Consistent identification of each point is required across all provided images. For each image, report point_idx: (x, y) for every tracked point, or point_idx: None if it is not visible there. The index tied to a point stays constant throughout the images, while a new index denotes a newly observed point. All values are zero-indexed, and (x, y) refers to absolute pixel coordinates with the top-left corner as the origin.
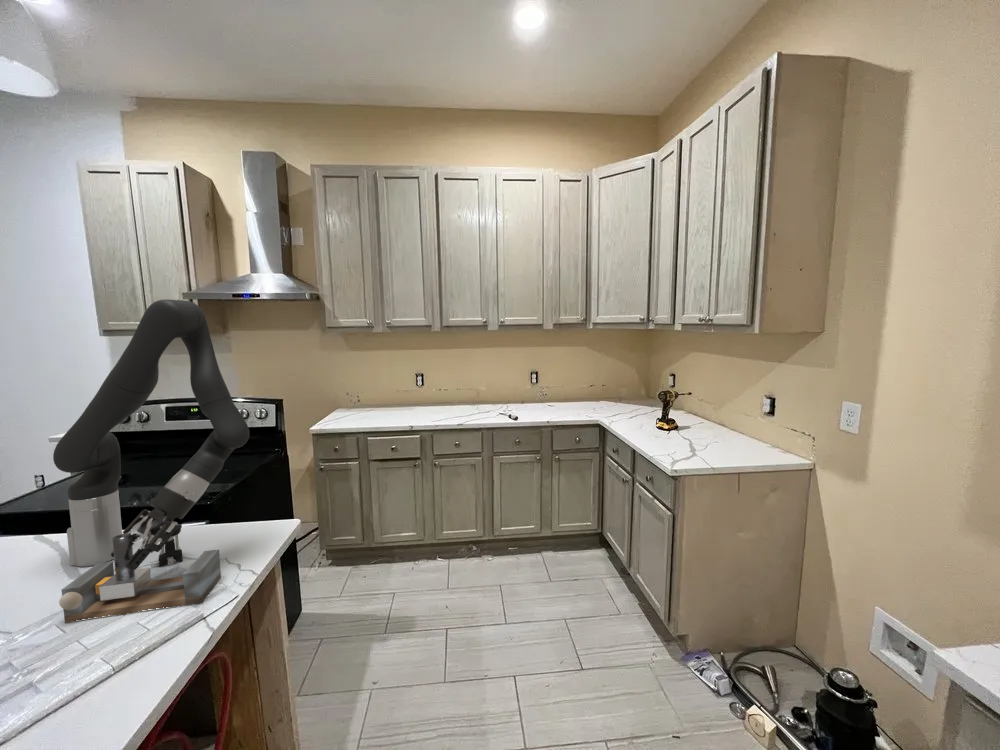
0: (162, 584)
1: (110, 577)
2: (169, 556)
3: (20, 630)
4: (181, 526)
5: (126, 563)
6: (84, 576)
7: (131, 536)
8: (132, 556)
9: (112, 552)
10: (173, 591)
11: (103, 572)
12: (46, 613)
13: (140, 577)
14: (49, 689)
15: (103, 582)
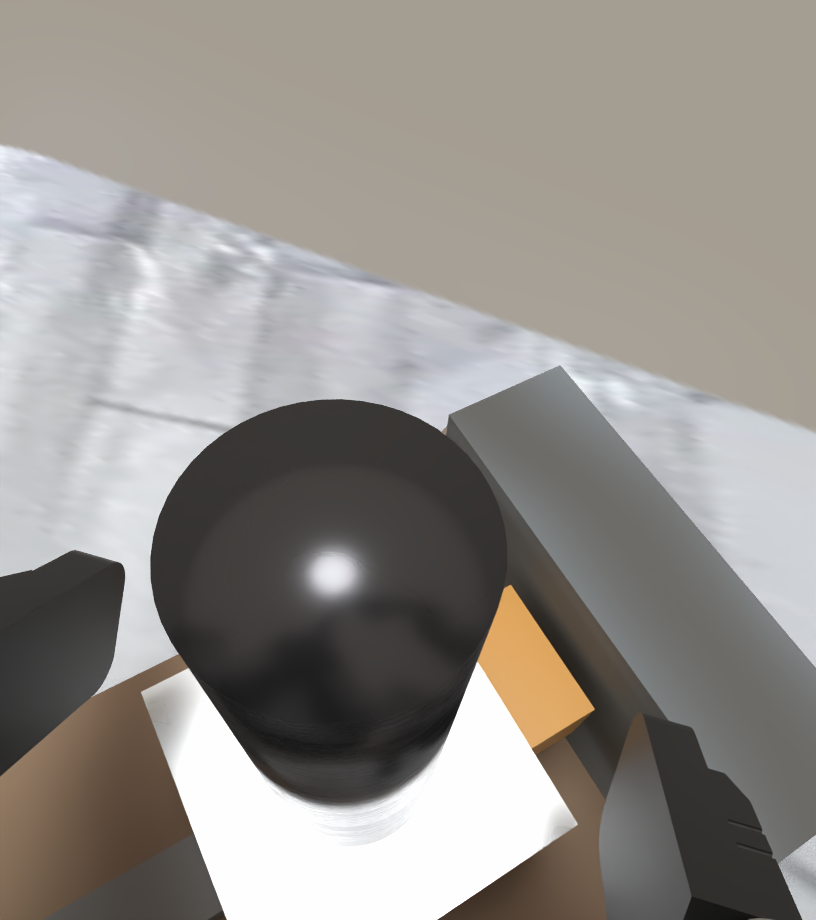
0: None
1: (535, 724)
2: None
3: (675, 418)
4: None
5: (102, 564)
6: (647, 539)
7: (230, 709)
8: (38, 602)
9: (672, 732)
10: None
11: (635, 701)
12: (765, 547)
13: (188, 814)
14: (14, 234)
15: (489, 636)
